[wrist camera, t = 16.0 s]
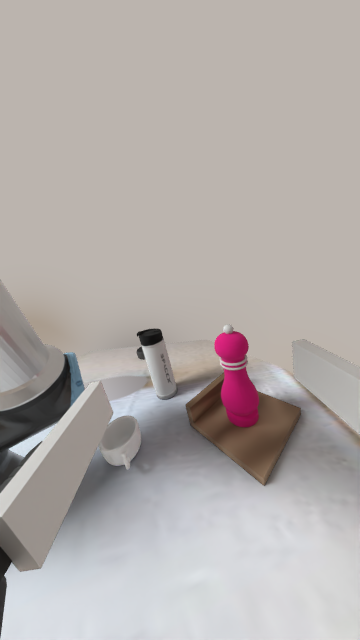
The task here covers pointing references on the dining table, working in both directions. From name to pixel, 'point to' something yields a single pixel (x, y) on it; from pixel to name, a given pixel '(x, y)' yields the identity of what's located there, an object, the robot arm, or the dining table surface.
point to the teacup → (121, 441)
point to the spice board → (244, 429)
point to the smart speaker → (140, 353)
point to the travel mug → (158, 363)
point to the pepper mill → (236, 379)
